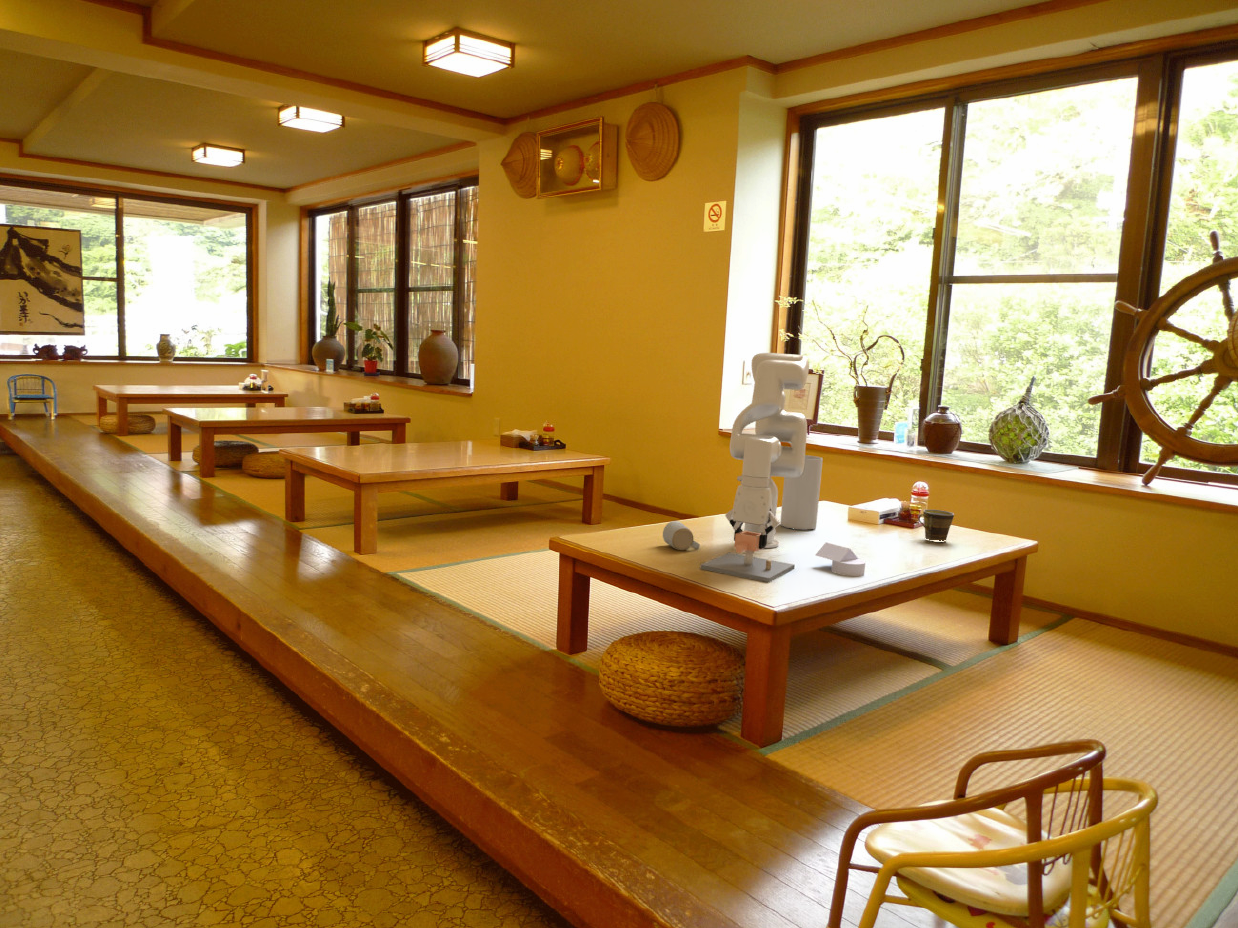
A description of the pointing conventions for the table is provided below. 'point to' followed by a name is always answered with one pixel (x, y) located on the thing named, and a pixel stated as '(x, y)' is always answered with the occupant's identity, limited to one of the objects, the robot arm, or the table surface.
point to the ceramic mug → (679, 536)
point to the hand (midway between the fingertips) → (749, 545)
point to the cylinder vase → (802, 496)
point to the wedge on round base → (842, 560)
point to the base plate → (747, 566)
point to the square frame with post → (747, 541)
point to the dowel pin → (768, 564)
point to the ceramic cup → (936, 524)
